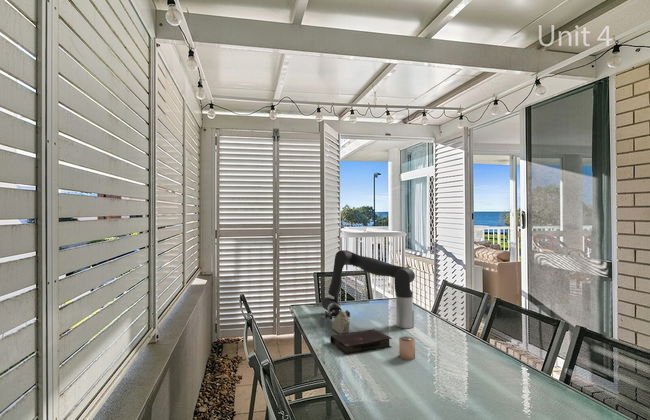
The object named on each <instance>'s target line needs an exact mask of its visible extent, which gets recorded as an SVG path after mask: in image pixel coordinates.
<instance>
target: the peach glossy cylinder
mask: <svg viewBox="0 0 650 420" xmlns="http://www.w3.org/2000/svg"><path fill="white" fill-rule="evenodd" d="M398 347H399V348H398V349H399V350H398V354H399V356H398V357H399V358H400V359H401V360H406V361H411V360H414V359H416V339H415V337H413V336H406V335H405V336H400V337H399V338H398Z"/></svg>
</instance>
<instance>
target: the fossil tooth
mask: <svg viewBox="0 0 650 420" xmlns="http://www.w3.org/2000/svg"><path fill="white" fill-rule="evenodd" d="M350 324H351V321H350V318H349V317H348V316H346V314H345V311H344V312H341V311H340V313H339V314H338V315H337V316H336V318H334V320H333V322H332V327H331V328H332V329H331V330H333V331H335V332H336V333H338V334H345V333H350Z"/></svg>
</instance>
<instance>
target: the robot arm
mask: <svg viewBox="0 0 650 420" xmlns="http://www.w3.org/2000/svg"><path fill="white" fill-rule="evenodd" d="M344 266H352V267H357V268H359V269H361V270H362V271H364V272H365V273H367V274H371V275H375V276H381V277H390V278H393V280H394V292H395V295H396V296H395V299H396V300H395V302H396V305H395V306H396V307H395V309H396V310H395V311H396V312H395V313H396V315H395V317H396V319H395V326H396V327H397V328H399V329H412V328H415V311H414V309H413V308H414V307H413V303H414V302H413V301H414V300H413V296H414V295H413V293H414V292H413V291H412V290H411V283H412V282H413V281H414V280H415V278H416V274H415V272H414V270H413V269H411V268H409V267H408V266H400V265H395V264H392V263H389V262H386V261H383V260H380V259H376V258H373V257H370V256H365V255H364V256H363V255H360V254H357V253H355V252H352V251H349V250H345V249H344V250H338V251H337V252H336V253H335V255H334V263H333V269H332V276H331V281H330V284H329V288H328V292H327V293H328V295H330V296H332V297H333V298H332V297H323V299H322V300H321V304H322V305H321V306H322V308H323V309H324V310H325V311H324V317H325V319H329V320H330V321H333V319H335V318H336V316H337V315H338V314H339V313H340V311H341V312H345V314H346V316H348V318H351V312H350V311H349V310H345V311H344V310H342V308H341V307H340V305H339V295H340V292H341V289H342V288H341V287H342V282H343V278H342V274H343V273H342V272H343V270H344V269H343V268H344Z"/></svg>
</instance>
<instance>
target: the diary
mask: <svg viewBox="0 0 650 420" xmlns="http://www.w3.org/2000/svg"><path fill="white" fill-rule="evenodd" d="M392 339H393V337H391V336H390V335H387V334H385V333H383V332H382V331H379V330H376V329H375V328H373V329H366V330H362V331H360V330H359V331H352V332H347V333H343V334H339V333H338V334H330V339H329V340H330V344H333V345H334V346H336V348H337V349H338V350H339V351H340V352H341V353H342V354H344V355H353V354H359V353H360V354H361V353H366V352H369V351H370V352H373V351H378V350H381V349H382V350H383V349H390V348H392V346H391V345H390V340H392Z"/></svg>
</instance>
